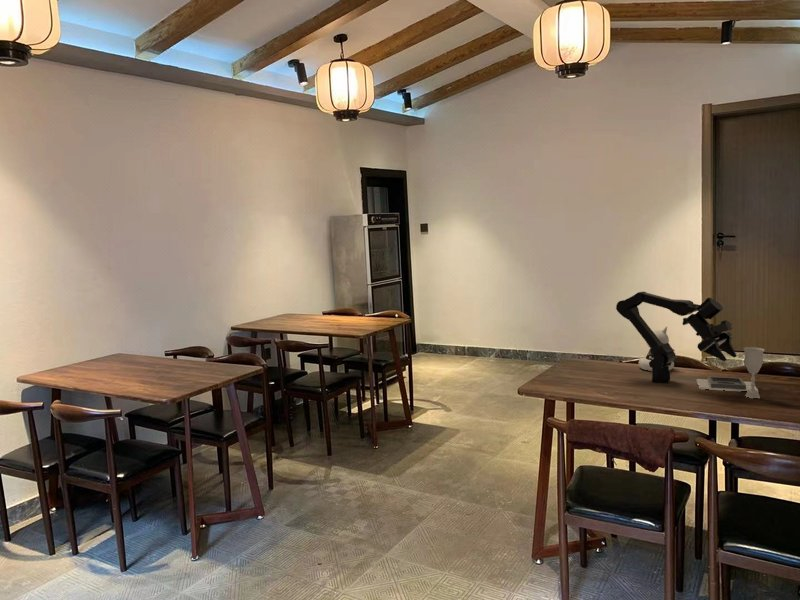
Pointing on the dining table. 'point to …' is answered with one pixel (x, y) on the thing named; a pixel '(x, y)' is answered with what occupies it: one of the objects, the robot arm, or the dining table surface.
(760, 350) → the chalice
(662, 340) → the decorative figurine
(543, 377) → the dining table surface
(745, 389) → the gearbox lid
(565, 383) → the dining table surface
